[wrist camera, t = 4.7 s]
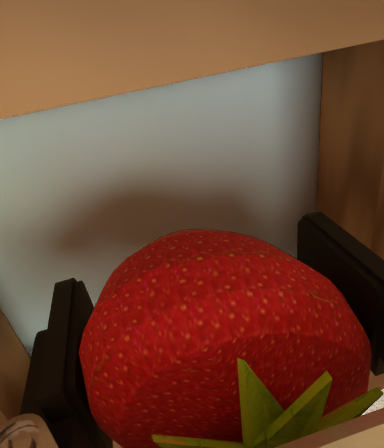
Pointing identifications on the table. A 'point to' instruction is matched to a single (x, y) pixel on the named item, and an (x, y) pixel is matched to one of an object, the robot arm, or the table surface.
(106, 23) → the wooden box
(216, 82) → the table surface
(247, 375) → the strawberry
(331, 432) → the robot arm
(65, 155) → the table surface
